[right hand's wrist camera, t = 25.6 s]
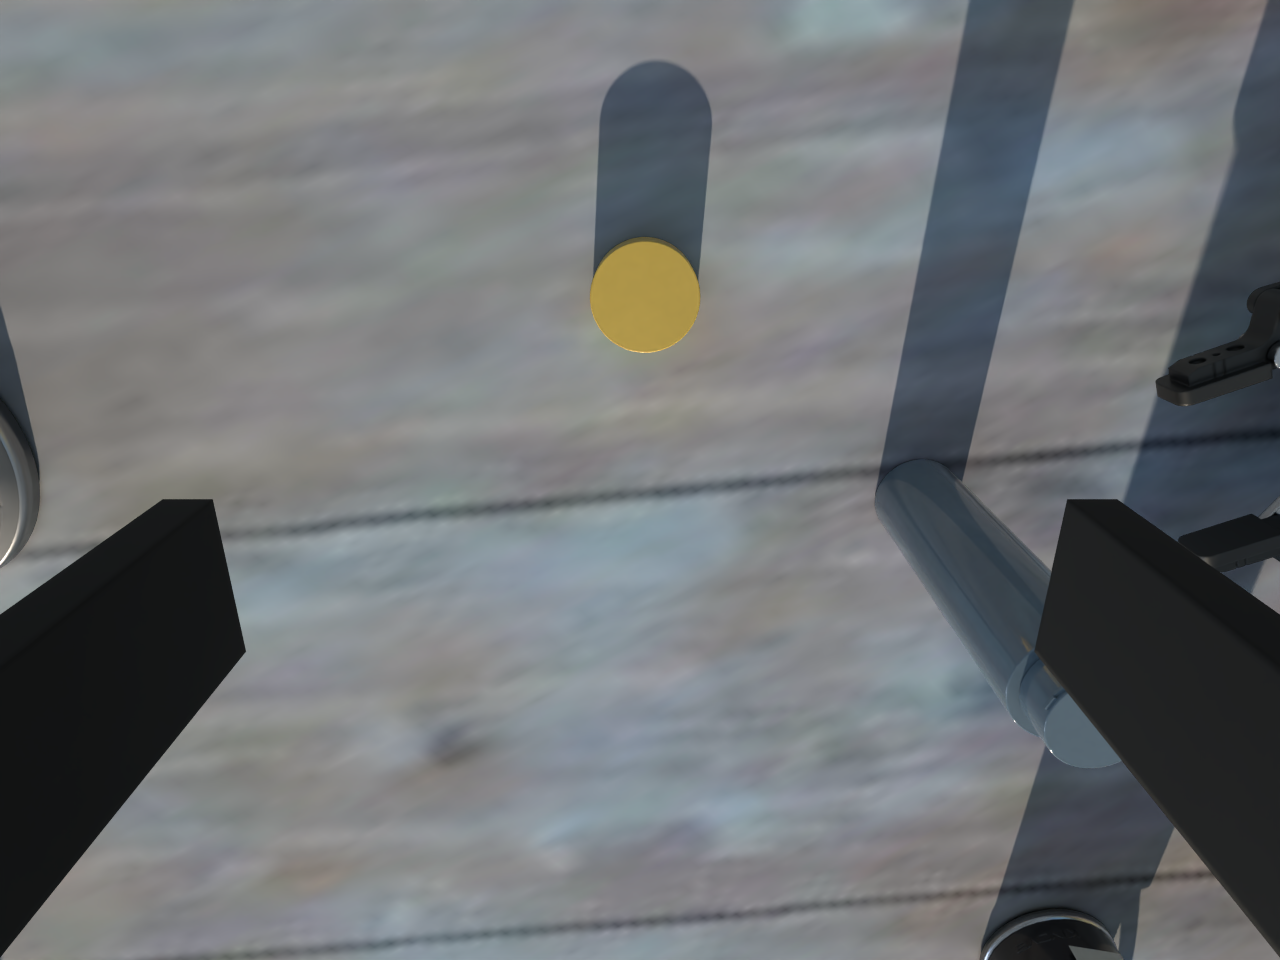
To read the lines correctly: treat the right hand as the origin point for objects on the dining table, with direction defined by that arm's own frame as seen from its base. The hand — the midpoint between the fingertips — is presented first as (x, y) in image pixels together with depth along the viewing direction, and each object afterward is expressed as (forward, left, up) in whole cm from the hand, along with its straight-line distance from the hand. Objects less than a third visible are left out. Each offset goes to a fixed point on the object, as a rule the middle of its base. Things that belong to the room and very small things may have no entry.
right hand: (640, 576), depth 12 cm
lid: (0, 0, -28) cm, 28 cm away
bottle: (+18, +7, -29) cm, 35 cm away
